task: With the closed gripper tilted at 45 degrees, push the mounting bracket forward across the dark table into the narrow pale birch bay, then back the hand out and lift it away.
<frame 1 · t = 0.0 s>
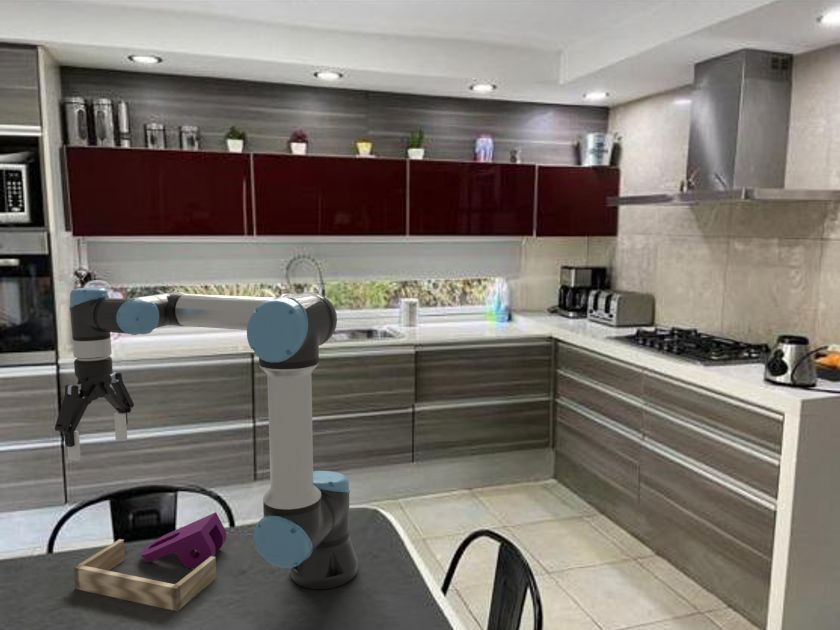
hand: (99, 449, 144), 28 cm above the table, tool pointing down, fingers open, 13 cm apart
mounting bracket: (181, 559, 151), on the table
birch bay: (147, 583, 140), on the table
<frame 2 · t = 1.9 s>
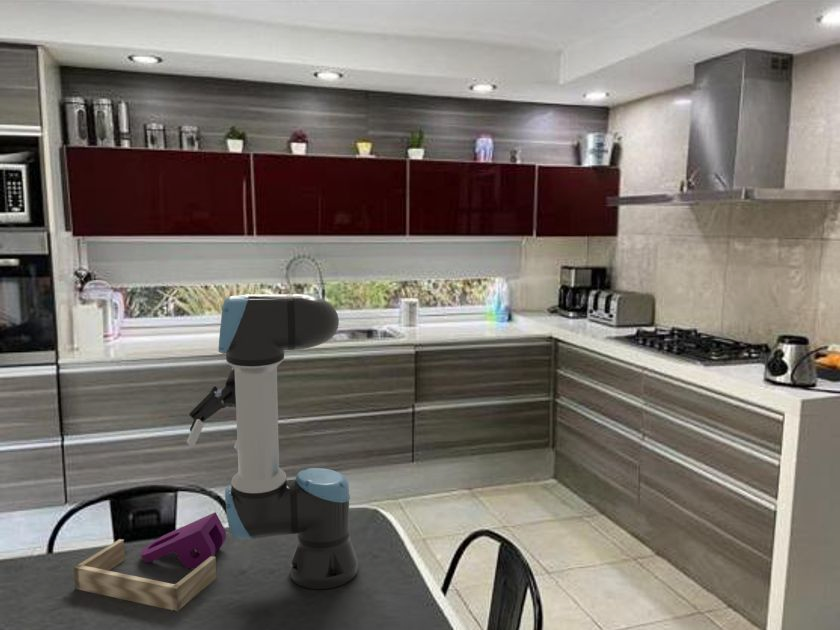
hand: (213, 447, 158), 24 cm above the table, tool tilted 45°, fingers open, 13 cm apart
nothing on the table moved.
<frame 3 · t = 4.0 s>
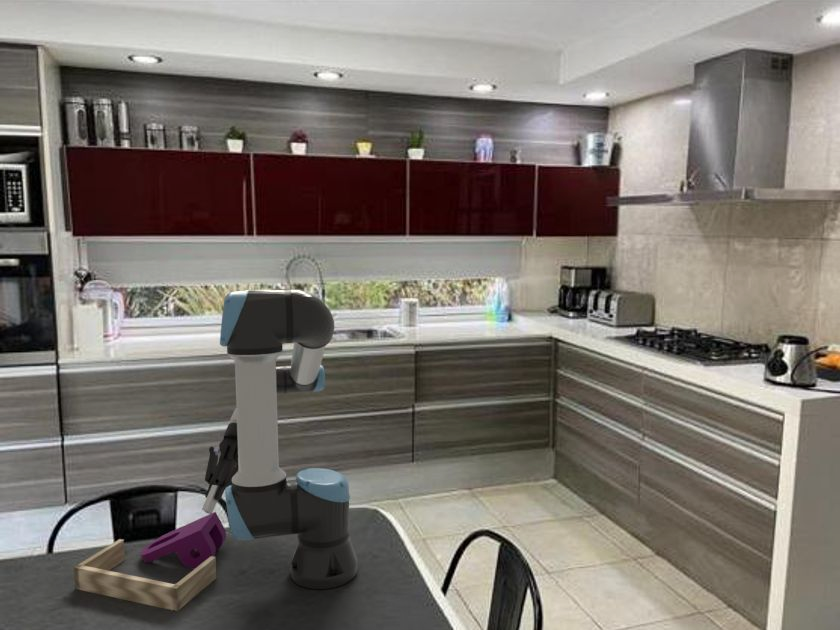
hand: (206, 511, 160), 7 cm above the table, tool tilted 45°, fingers closed
nothing on the table moved.
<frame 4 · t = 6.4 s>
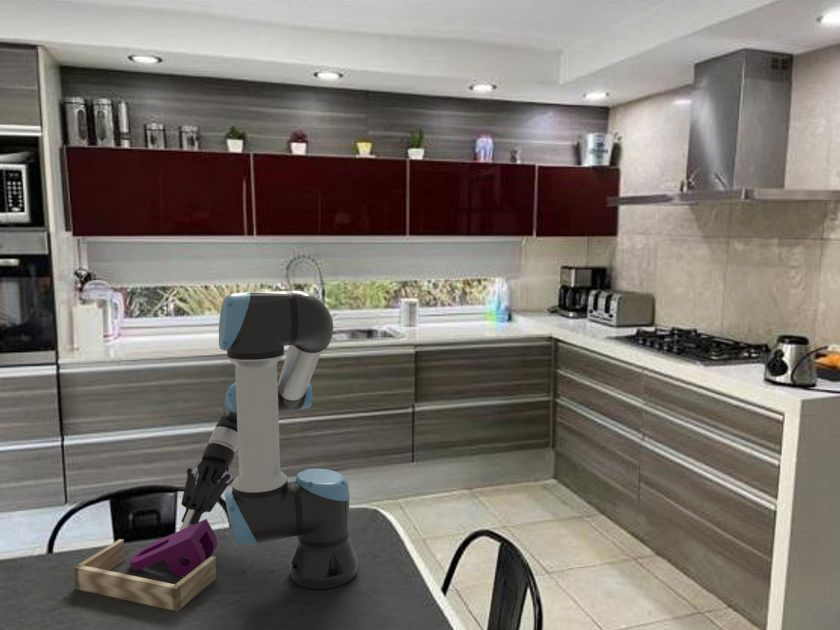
hand: (182, 537, 153), 4 cm above the table, tool tilted 45°, fingers closed
mounting bracket: (171, 567, 148), on the table, touching gripper
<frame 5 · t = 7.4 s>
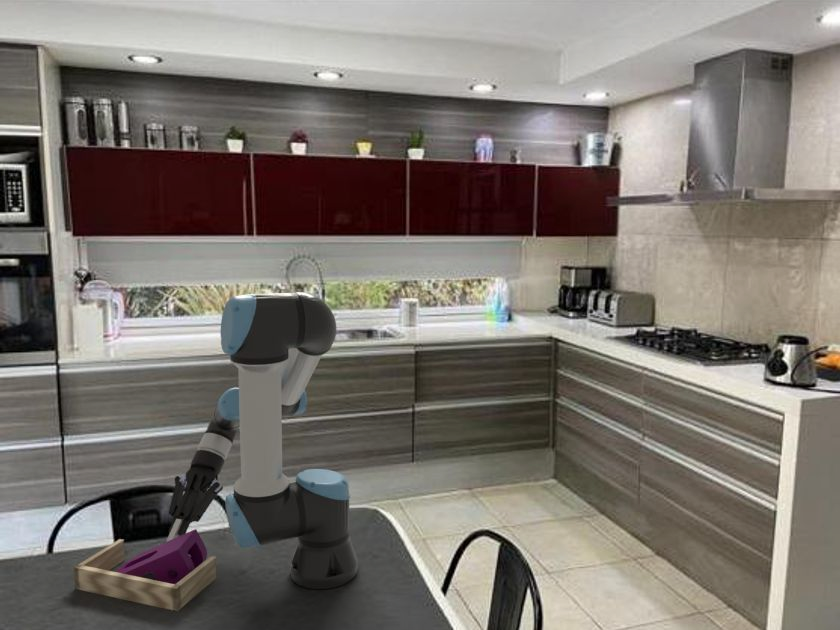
hand: (169, 548, 147), 4 cm above the table, tool tilted 45°, fingers closed
mounting bracket: (159, 579, 143), on the table, touching gripper
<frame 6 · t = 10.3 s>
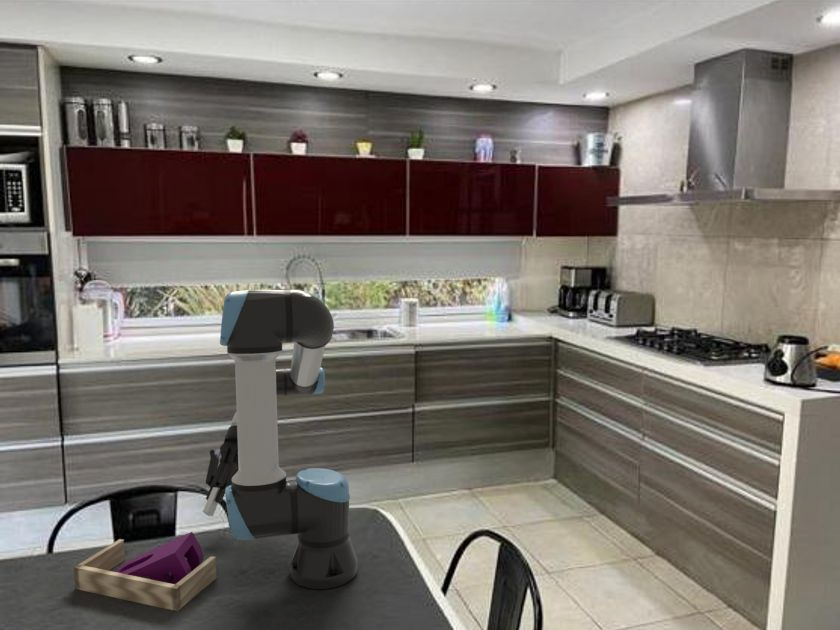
hand: (207, 513, 160), 6 cm above the table, tool tilted 45°, fingers closed
mounting bracket: (155, 583, 141), on the table
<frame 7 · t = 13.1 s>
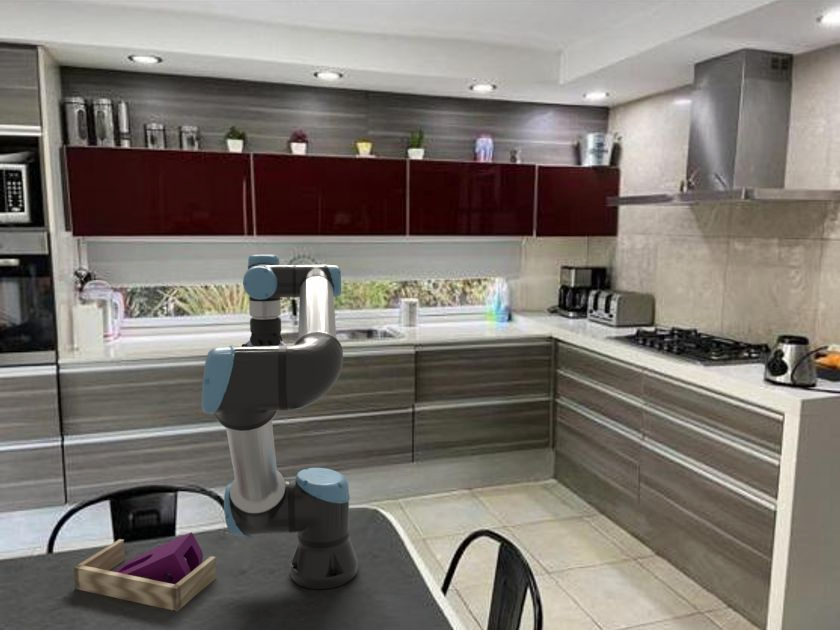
hand: (268, 409, 161), 32 cm above the table, tool pointing down, fingers closed
nothing on the table moved.
at the end: mounting bracket inside the target area (1.0 cm from its centre), on the table; mounting bracket tilted 1°; the gripper is holding nothing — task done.
